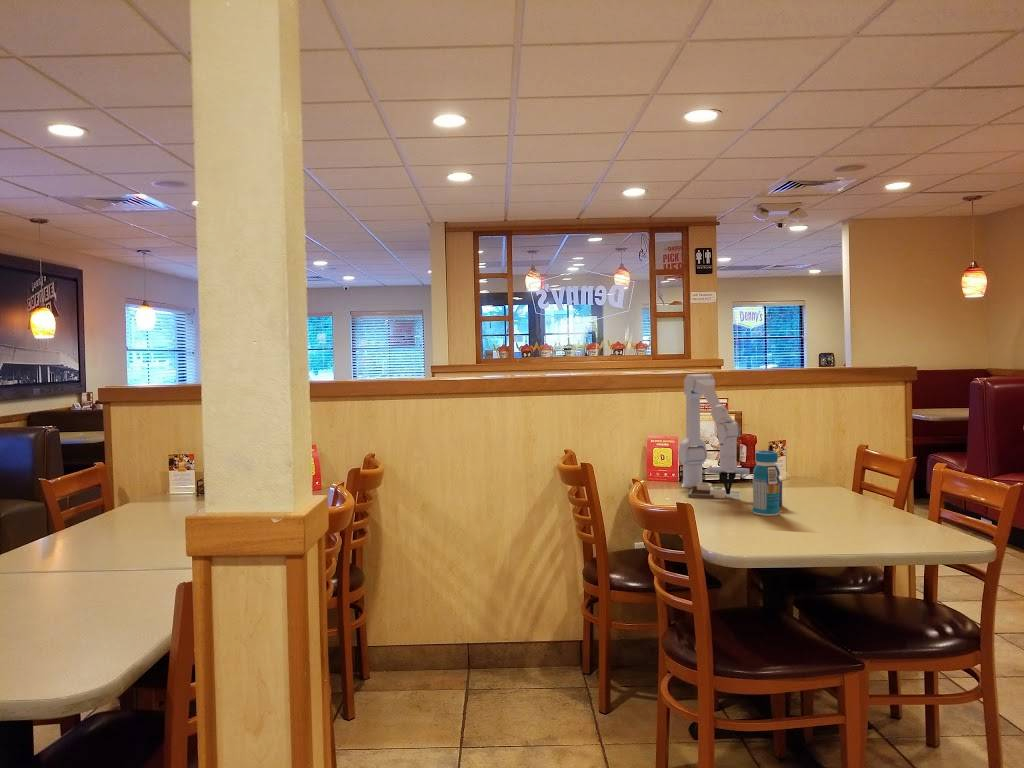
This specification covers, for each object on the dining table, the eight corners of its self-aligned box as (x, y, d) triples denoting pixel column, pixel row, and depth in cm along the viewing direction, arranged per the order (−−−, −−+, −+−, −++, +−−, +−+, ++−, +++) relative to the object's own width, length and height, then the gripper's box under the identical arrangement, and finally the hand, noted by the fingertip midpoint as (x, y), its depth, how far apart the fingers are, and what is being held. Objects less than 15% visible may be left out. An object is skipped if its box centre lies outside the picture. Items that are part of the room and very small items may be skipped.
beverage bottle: (750, 515, 243) (750, 452, 242) (754, 510, 250) (755, 449, 249) (777, 517, 239) (778, 454, 238) (781, 512, 246) (782, 451, 245)
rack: (689, 489, 287) (689, 486, 287) (739, 492, 282) (739, 488, 282) (686, 498, 271) (686, 494, 271) (739, 500, 265) (739, 496, 265)
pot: (710, 494, 275) (710, 485, 275) (724, 495, 274) (724, 486, 274) (710, 497, 271) (710, 488, 271) (724, 498, 269) (724, 489, 269)
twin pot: (697, 490, 285) (697, 481, 285) (711, 490, 283) (711, 482, 283) (696, 492, 280) (696, 483, 280) (710, 493, 278) (710, 484, 278)
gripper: (706, 456, 269) (706, 494, 270) (749, 458, 265) (749, 496, 265) (707, 454, 276) (707, 491, 276) (749, 455, 272) (749, 493, 272)
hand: (727, 493), depth 271 cm, fingers closed
